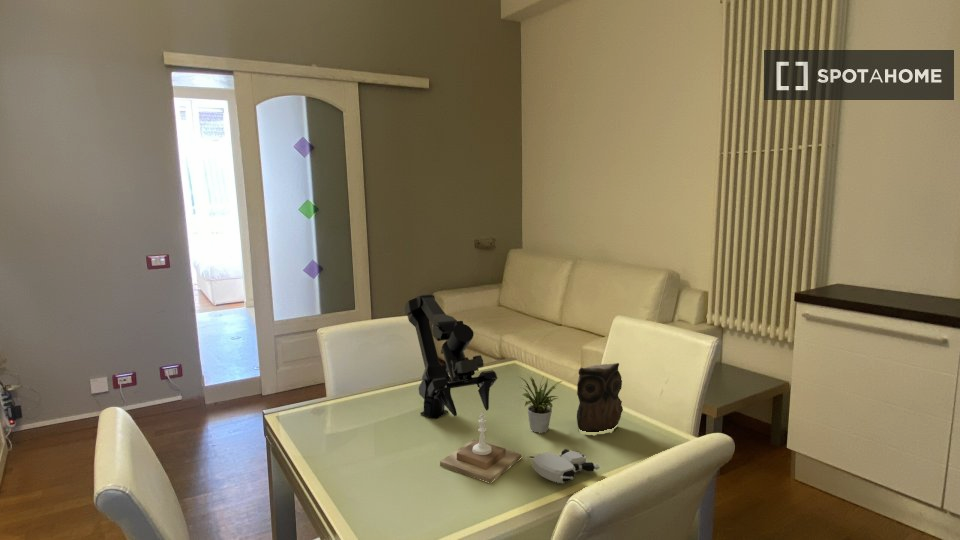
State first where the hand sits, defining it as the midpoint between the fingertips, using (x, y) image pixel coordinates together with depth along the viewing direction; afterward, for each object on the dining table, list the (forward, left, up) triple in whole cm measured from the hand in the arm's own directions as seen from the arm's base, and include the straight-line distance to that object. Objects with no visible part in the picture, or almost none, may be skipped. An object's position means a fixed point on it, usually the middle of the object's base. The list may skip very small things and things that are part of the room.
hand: (471, 412), depth 137 cm
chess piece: (+3, +5, -8) cm, 10 cm away
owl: (-34, +21, -11) cm, 42 cm away
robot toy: (-4, +25, -11) cm, 27 cm away
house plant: (-22, +7, -11) cm, 26 cm away
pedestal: (+3, +5, -11) cm, 12 cm away
